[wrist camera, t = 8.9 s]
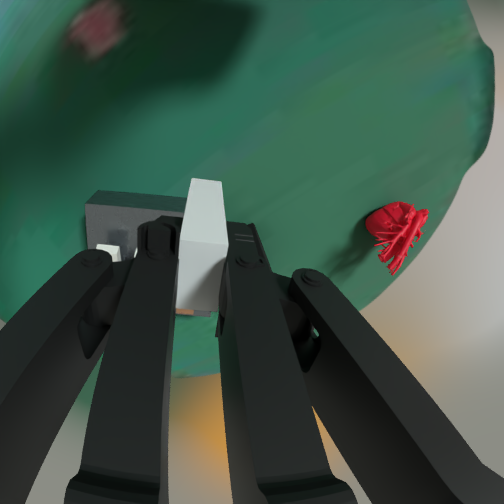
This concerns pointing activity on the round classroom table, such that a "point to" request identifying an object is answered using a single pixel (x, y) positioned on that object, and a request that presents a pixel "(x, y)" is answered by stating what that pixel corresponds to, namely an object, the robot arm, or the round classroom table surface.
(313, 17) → the round classroom table surface
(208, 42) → the round classroom table surface
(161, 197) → the console
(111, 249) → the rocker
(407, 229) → the heart organ
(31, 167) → the round classroom table surface
